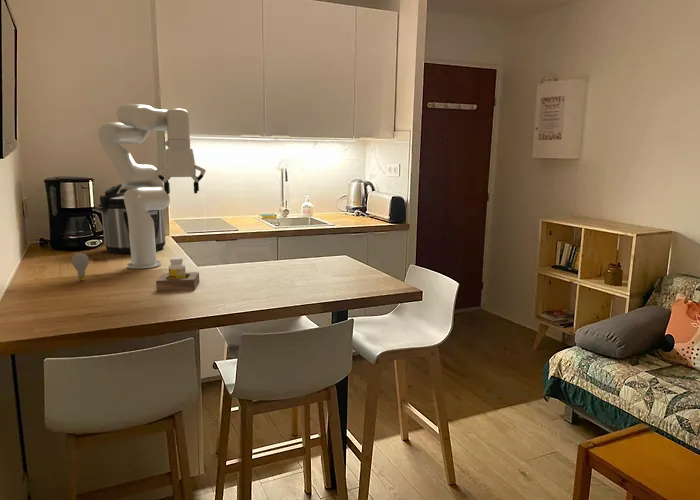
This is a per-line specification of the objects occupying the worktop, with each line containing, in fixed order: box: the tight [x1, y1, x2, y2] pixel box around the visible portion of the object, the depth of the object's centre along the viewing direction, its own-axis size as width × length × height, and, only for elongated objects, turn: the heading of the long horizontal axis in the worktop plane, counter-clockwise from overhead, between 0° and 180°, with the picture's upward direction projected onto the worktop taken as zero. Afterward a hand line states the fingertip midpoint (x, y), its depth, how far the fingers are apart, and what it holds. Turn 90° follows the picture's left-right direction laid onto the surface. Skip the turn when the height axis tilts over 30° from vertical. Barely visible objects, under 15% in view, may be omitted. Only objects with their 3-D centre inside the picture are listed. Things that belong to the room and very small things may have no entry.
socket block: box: [155, 271, 200, 293], centre depth 187 cm, size 12×12×4 cm
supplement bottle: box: [168, 256, 187, 279], centre depth 186 cm, size 5×5×10 cm
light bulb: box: [71, 252, 90, 281], centre depth 196 cm, size 6×5×10 cm
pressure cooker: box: [94, 183, 166, 254], centre depth 259 cm, size 30×28×32 cm
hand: (182, 193), depth 198 cm, fingers open, 9 cm apart
